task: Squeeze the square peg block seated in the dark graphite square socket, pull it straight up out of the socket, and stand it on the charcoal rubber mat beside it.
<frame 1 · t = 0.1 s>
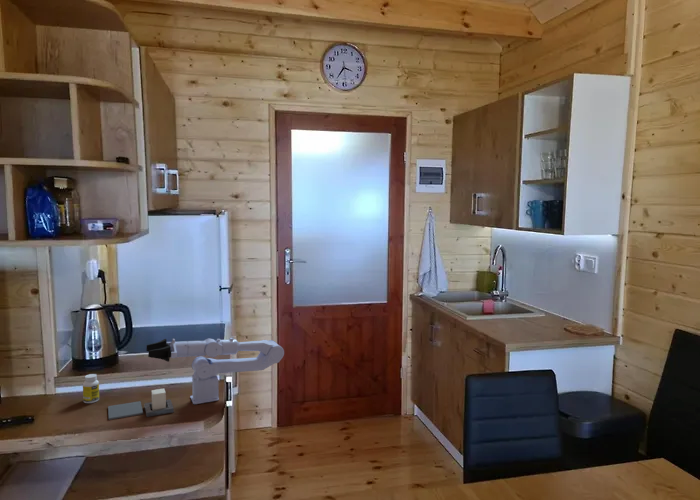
hand: (147, 350, 179), 22 cm above the worktop, tool horizontal, fingers open, 7 cm apart
square peg block: (158, 400, 180), in the square socket
square socket: (159, 409, 180), on the worktop
supplement bottle: (91, 401, 187), on the worktop
rubber mat: (125, 410, 179), on the worktop
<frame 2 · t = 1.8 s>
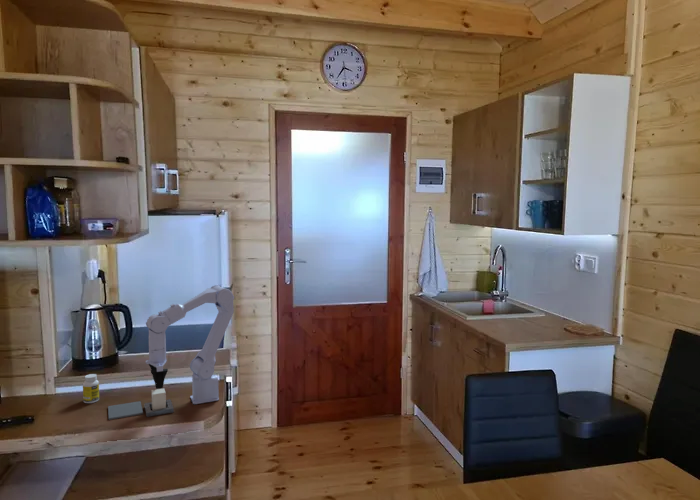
hand: (158, 384, 179), 10 cm above the worktop, tool pointing down, fingers open, 7 cm apart
nothing on the worktop moved.
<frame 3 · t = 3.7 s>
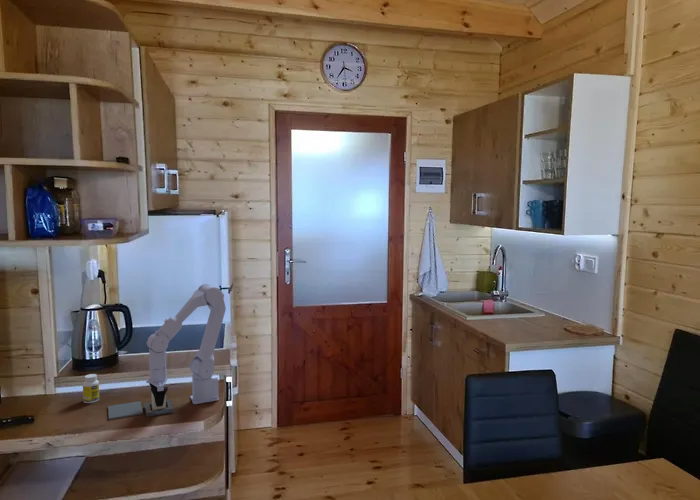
hand: (158, 403, 180), 2 cm above the worktop, tool pointing down, fingers closed on square peg block, 4 cm apart
square peg block: (158, 400, 180), in the square socket, touching gripper
everything else where it was.
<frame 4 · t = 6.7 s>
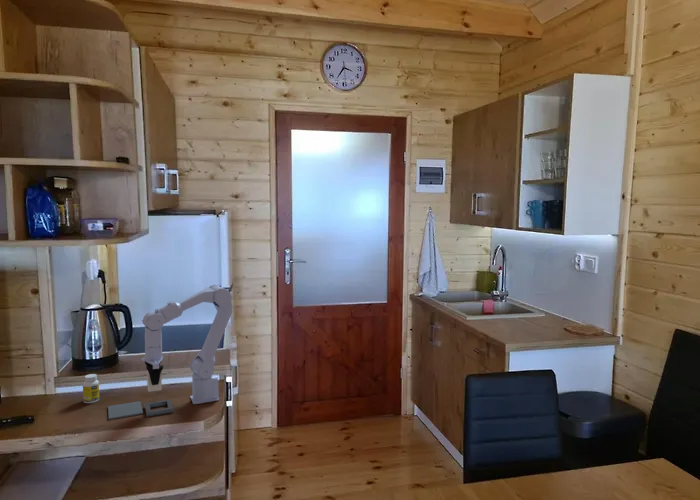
hand: (154, 382, 179), 10 cm above the worktop, tool pointing down, fingers closed on square peg block, 4 cm apart
square peg block: (154, 379, 179), point 12 cm above the worktop, touching gripper
everything else where it was.
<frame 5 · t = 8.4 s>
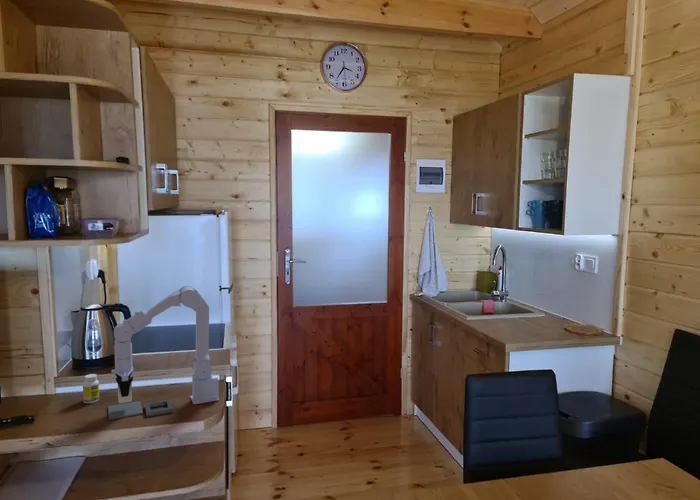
hand: (124, 393, 178), 6 cm above the worktop, tool pointing down, fingers closed on square peg block, 4 cm apart
square peg block: (124, 390, 178), point 8 cm above the worktop, touching gripper
everything else where it was.
when the fingers open (4 cm above the worktop, at t = 9.9 s): square peg block stays where it is, resting on rubber mat.
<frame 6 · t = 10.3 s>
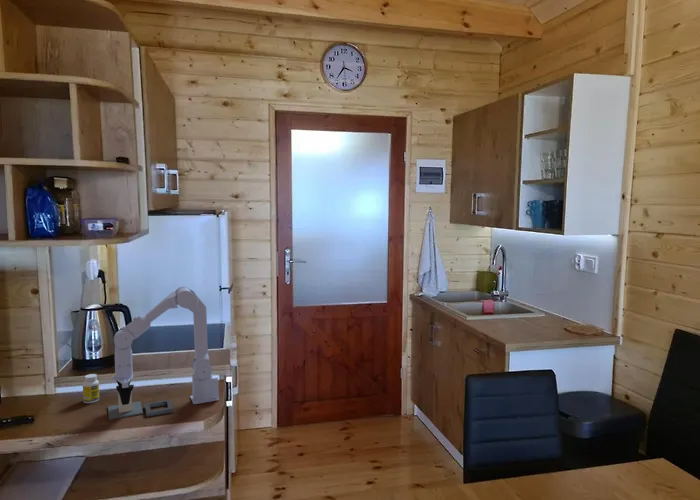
hand: (125, 400, 178), 4 cm above the worktop, tool pointing down, fingers open, 7 cm apart
square peg block: (125, 399, 178), on the rubber mat, point 4 cm above the worktop
everything else where it was.
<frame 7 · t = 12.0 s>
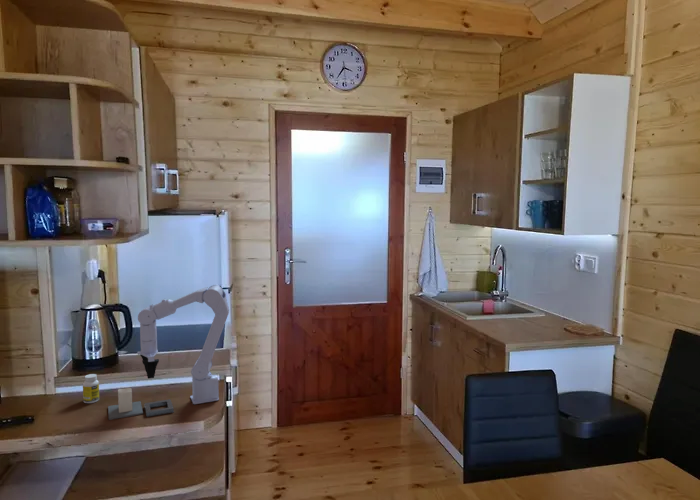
hand: (149, 374, 187), 10 cm above the worktop, tool pointing down, fingers open, 7 cm apart
nothing on the worktop moved.
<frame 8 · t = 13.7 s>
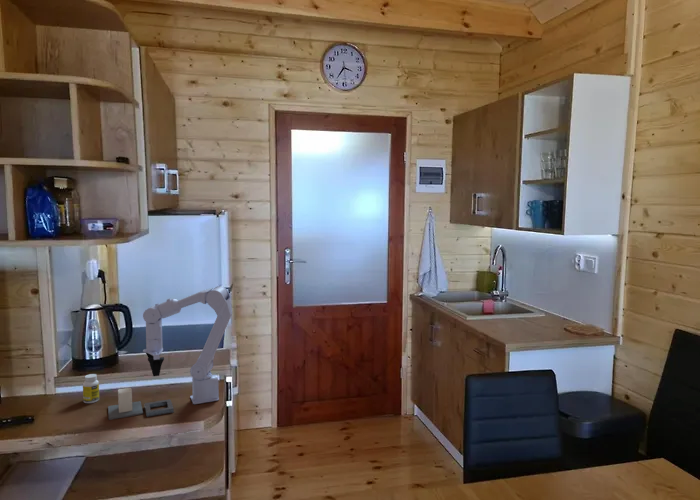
hand: (155, 372, 189), 10 cm above the worktop, tool pointing down, fingers open, 7 cm apart
nothing on the worktop moved.
at the end: square peg block 0.1 cm off-centre on the rubber mat, point 4.1 cm above the rubber mat's base; square peg block tilted 0°; the gripper is holding nothing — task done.
